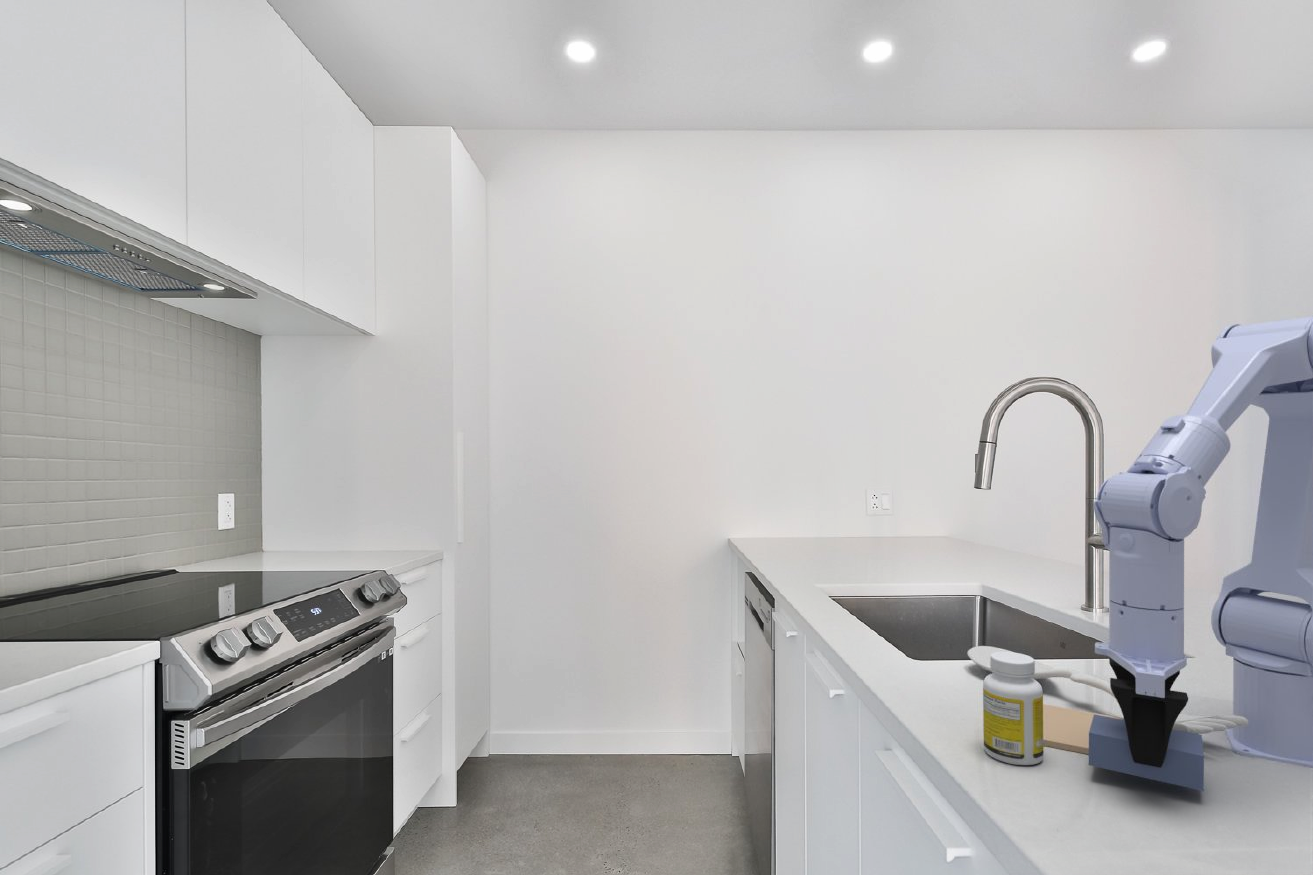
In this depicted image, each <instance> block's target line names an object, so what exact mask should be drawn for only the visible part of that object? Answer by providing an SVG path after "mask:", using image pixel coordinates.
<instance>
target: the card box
mask: <svg viewBox="0 0 1313 875" xmlns="http://www.w3.org/2000/svg"><path fill="white" fill-rule="evenodd" d="M1202 736H1203V734H1194V733H1189V732H1184V731H1178V730H1173V729H1172V731H1171V735H1170V739H1169V743H1168V748H1167V752H1166V756H1165V759H1164V762H1163V765H1162V767H1161V768H1159V767H1154V766H1149V765H1144V764H1138V763H1135V762H1134V761H1133V758H1132V755H1131V751H1130V747H1129V741H1128V735H1127V730H1126V724H1125V720H1121V719H1116V718H1111V717H1105V716H1100V715H1095V714H1094V716H1093V720H1092V723H1091V727H1090V730H1089V754H1088V766H1091V767H1095V768H1100V769H1105V770H1109V771H1114V772H1118V773H1122V774H1127V775H1131V776H1136V777H1140V778H1143V779H1144V778H1145V779H1148V780H1153V781H1157V782H1162V783H1165V784H1166V783H1167V784H1171V785H1175V786H1180V787H1185V788H1188V789H1192V790H1196V791H1200V792H1201V791H1202V792H1204V791H1205V790H1204V789H1205V784H1204V783H1205V780H1204V779H1205V778H1204V777H1205V752H1204V747H1203V746H1204V743H1203V737H1202Z"/></svg>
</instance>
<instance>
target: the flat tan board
mask: <svg viewBox="0 0 1313 875" xmlns="http://www.w3.org/2000/svg"><path fill="white" fill-rule="evenodd" d="M1094 714H1095V715H1100V716H1105V717H1111V718H1116V719H1121V720H1124V717H1120V716H1119V717H1118V716H1113V715H1107V714H1103V713H1102V714H1101V713H1097V712H1090V711H1083V710H1078V709H1073V708H1072V709H1071V708H1068V707H1067V708H1066V707H1061V706H1054V705H1050V704H1044V703H1043V747H1050V748H1053V749H1054V748H1055V749H1060V750H1065V751H1070V752H1074V753H1080V754H1085V755H1089V730H1090V727H1091V723H1092V720H1093V716H1094Z"/></svg>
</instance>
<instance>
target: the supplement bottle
mask: <svg viewBox="0 0 1313 875" xmlns="http://www.w3.org/2000/svg"><path fill="white" fill-rule="evenodd" d="M1034 660H1035V659H1034V657H1032V656H1030V655H1026V654H1024V653H1020V652H1019V653H1018V652H1015V653H1014V651H1012V652H995V653H992V654H991V657H990V666H991V670H992V671H993V672H991V673H990V674H988V675H986V677H985V678H983V679H984V680H983V681H982V682H983V684H982V697H983V698H982V702H983V703H982V705H983V706H982V707H983V708H982V709H983V710H982V712H983V714H982V716H983V717H982V719H983V720H982V721H983V729H982V730H983V748H984V751H985V752H986V753H987V755H989V756H990V757H992V758H993V759H995V760H996V761H1000V762H1003V763H1005V764H1010V765H1014V766H1031V765H1032V766H1033V765H1036V764H1040V763H1042V761H1043V759H1044V745H1043V704H1044V693H1043V691H1044V690H1043V687H1042V685H1041V683H1040V682H1038V680H1037V679H1033V678H1032V676H1033V675H1034V674H1035V673H1034V672H1035V661H1036V660H1035V661H1034Z"/></svg>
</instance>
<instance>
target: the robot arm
mask: <svg viewBox="0 0 1313 875" xmlns="http://www.w3.org/2000/svg"><path fill="white" fill-rule="evenodd" d="M1210 350H1211V351H1210V352H1211V364H1212V370H1211V372H1210V373H1209V375H1208V377H1207V379H1206V380H1205V382H1204V383H1203V385H1202V387H1201V388H1200V390H1199V392H1198V394H1197V395H1196V397H1195V398H1194V399H1193V402H1192V404H1191V405H1190V407H1189V409H1188V411H1187V412H1186V413H1185V414H1178V415H1174V416H1171V417H1169V418H1165V420H1164V421H1163V422H1162V424H1161V425H1160V427H1159V429H1158V430H1156V433H1154V435H1153V436H1152V438H1151V439H1150V440H1149V442H1148V443H1147V445H1146V446H1145V447H1143V449H1142V451H1141V452H1140V454H1139V455H1138V456H1137V457H1136V459H1135V460H1134V461H1133V463H1132V464H1131V465H1130V467H1129V468H1128V469H1127V471H1126V472H1119V473H1115V474H1114V475H1112V476H1111V477H1109V478H1107V479H1106V480H1105V481H1104V482H1103V483H1102V484H1101V485H1100V487H1099V488H1098V492H1097V495H1096V499H1095V500H1094V501H1093V510H1094V515H1095V518H1096V521H1097V522H1098V524H1099V526H1100V527H1101V528H1100V529H1101V531H1102V544H1104V547H1105V549H1107V550H1108V551H1109V552H1108V553H1109V558H1108V559H1109V564H1108V565H1109V566H1108V567H1109V568H1108V569H1109V570H1108V571H1109V572H1108V574H1109V576H1108V579H1109V580H1108V581H1109V584H1108V587H1109V590H1108V591H1109V593H1108V594H1109V595H1108V596H1109V602H1108V603H1109V604H1108V606H1109V607H1108V608H1109V610H1108V611H1109V614H1108V615H1109V616H1108V617H1109V619H1108V620H1109V621H1108V624H1109V625H1108V629H1109V631H1108V640H1109V641H1108V643H1106V642H1099V641H1097V642H1095V643H1094V653H1095V654H1096V655H1100V656H1106V657H1109V661H1108V662H1109V665H1110V667H1111V670H1112V671H1113V672H1114V675H1115V677H1110V679H1109V683H1110V688H1111V690H1112V692H1113V694H1114V696H1115V698H1114V699H1115V700H1116V702H1117V703H1118V705H1119V708H1120V711H1121V713H1122V718H1124V720H1125V724H1126V730H1127V735H1128V741H1129V747H1130V751H1131V755H1132V758H1133V761H1134V762H1135V763H1138V764H1144V765H1149V766H1154V767H1159V768H1161V767H1162V765H1163V762H1164V759H1165V756H1166V752H1167V748H1168V743H1169V739H1170V735H1171V731H1172V728H1173V726H1174V723H1175V721H1176V719H1177V717H1178V716H1179V714H1180V713H1181V714H1182V711H1183V710H1184V709H1185V707H1186V706H1187V704H1188V701H1189V696H1188V693H1187V692H1184V691H1178V690H1171V689H1172V686H1173V684H1174V683H1175V681H1176V680H1177V678H1178V677H1179V676H1180V674H1181V670H1182V669H1184V668H1186V666H1187V665H1188V664H1187V660H1188V659H1187V655H1186V654H1185V538H1187V537H1189V536H1190V535H1191V534H1192V533H1193V531H1194V530H1196V529H1197V528H1198V526H1199V523H1200V521H1201V517H1202V511H1203V510H1202V509H1203V508H1202V507H1203V502H1204V500H1205V499H1206V493H1207V490H1206V489H1205V486H1206V485H1207V483H1208V482H1209V481H1210V479H1211V478H1212V476H1213V475H1214V473H1215V472H1216V470H1218V468H1219V466H1221V464H1222V462H1223V461H1224V459H1225V458H1226V456H1227V455H1228V454H1229V452H1230V450H1231V441H1230V438H1229V436H1228V434H1227V431H1228V430H1229V429H1230V428H1231V427H1232V426H1233V424H1234V423H1235V422H1236V421H1237V420H1238V419H1239V418H1240V416H1241V415H1242V414H1243V413H1244V412H1245V411H1246V410H1247V409H1248V408H1249V406H1250V405H1251V406H1255V407H1258V408H1260V409H1263V410H1264V412H1265V413H1266V415H1267V416H1268V418H1269V420H1268V425H1267V436H1266V442H1265V443H1266V444H1265V449H1264V450H1265V451H1264V458H1263V459H1264V460H1263V466H1262V474H1261V481H1260V490H1259V496H1258V497H1259V498H1258V507H1257V513H1256V522H1255V530H1254V536H1253V537H1254V538H1253V546H1252V553H1251V560H1250V562H1249V563H1248V564H1247V565H1245V566H1243V567H1241V568H1238V569H1237V570H1235V571H1233V572H1231V573H1229V574H1227V575H1226V576H1224V577H1223V579H1222V584H1221V589H1220V592H1219V594H1218V597H1217V600H1216V601H1215V603H1214V605H1213V608H1212V611H1211V616H1210V618H1211V619H1210V621H1211V622H1210V623H1211V628H1212V632H1213V634H1214V637H1215V639H1216V640H1217V641H1218V643H1219V644H1220V645H1221V646H1223V647H1225V655H1226V656H1228V657H1232V658H1233V662H1232V663H1233V664H1232V665H1233V670H1232V672H1233V674H1232V678H1233V679H1232V680H1233V681H1232V682H1233V684H1232V685H1233V687H1232V690H1233V691H1232V692H1233V694H1232V699H1233V700H1232V711H1233V712H1232V715H1234V716H1241V717H1244V718H1246V719H1247V720H1248V722H1249V723H1248V725H1247V726H1244V727H1240V726H1236V727H1235V728H1231V729H1226V730H1224V732H1225V734H1226V737H1227V739H1228V742H1229V744H1230V748H1231V750H1232V751H1233V753H1234V754H1236V755H1241V756H1246V757H1252V758H1256V759H1262V760H1268V761H1274V762H1278V763H1284V764H1289V765H1295V766H1300V767H1301V766H1302V767H1306V768H1310V769H1312V768H1313V315H1312V316H1305V317H1297V318H1295V317H1294V318H1289V319H1287V318H1286V319H1280V320H1272V321H1263V322H1255V323H1247V324H1246V323H1245V324H1239V323H1235V324H1229V325H1227V326H1226V327H1224V328H1223V329H1222V330H1221V331H1220V332H1219V334H1218V336H1217V338H1216V340H1215V341H1214V342H1213V343H1212V345H1211V349H1210ZM1262 593H1275V594H1278V595H1279V594H1280V595H1285V596H1290V597H1296V598H1299V599H1302V600H1304V601H1305V602H1306V603H1305V602H1300V601H1299V602H1298V601H1293V600H1289V599H1283V598H1282V599H1281V598H1277V597H1271V596H1265V595H1261V594H1262Z"/></svg>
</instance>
